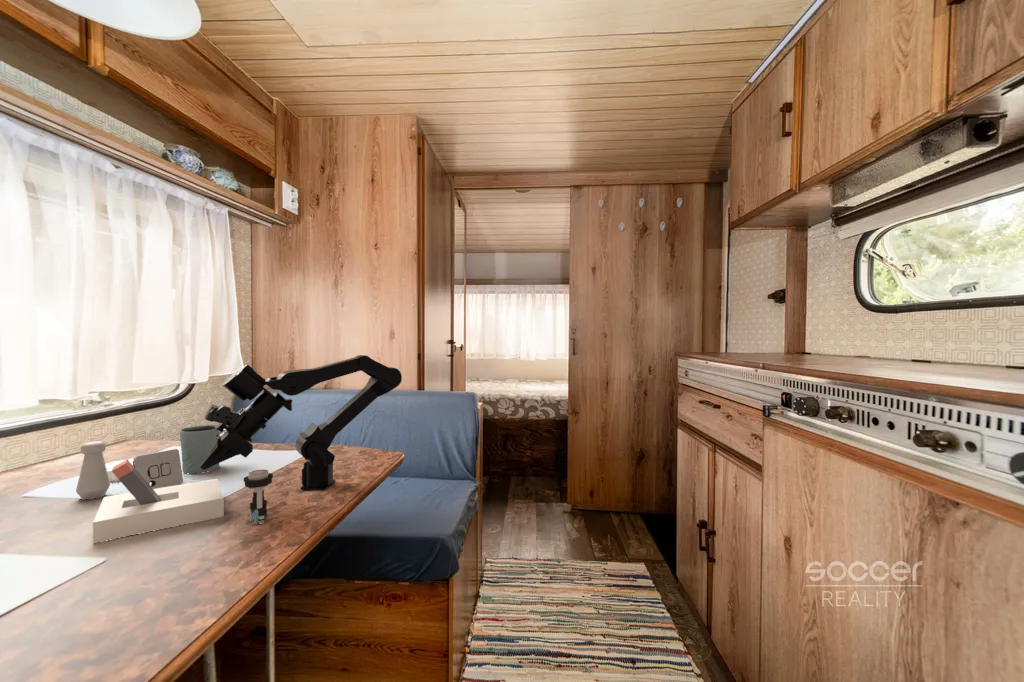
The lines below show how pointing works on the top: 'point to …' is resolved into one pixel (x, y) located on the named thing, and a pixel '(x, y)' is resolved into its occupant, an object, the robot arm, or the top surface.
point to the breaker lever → (135, 483)
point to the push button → (258, 493)
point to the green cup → (197, 447)
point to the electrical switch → (160, 468)
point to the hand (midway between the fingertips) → (201, 468)
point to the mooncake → (110, 466)
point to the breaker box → (158, 510)
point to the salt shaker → (93, 472)
